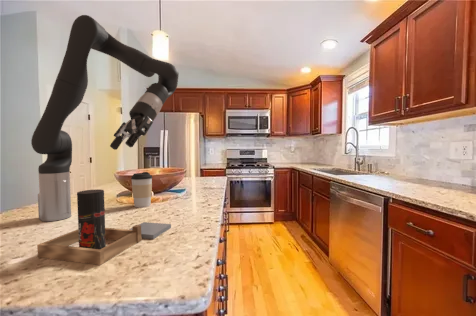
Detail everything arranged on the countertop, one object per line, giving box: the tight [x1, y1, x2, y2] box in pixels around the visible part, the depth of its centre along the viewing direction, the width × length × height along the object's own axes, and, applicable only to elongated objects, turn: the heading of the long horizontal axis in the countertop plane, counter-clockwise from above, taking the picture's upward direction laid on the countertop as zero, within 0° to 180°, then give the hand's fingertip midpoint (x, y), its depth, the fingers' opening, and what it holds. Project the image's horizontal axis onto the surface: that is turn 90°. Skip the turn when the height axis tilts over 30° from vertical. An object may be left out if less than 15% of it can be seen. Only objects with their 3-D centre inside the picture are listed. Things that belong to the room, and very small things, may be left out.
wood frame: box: [36, 224, 143, 266], centre depth 62 cm, size 19×14×4 cm
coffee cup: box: [130, 171, 153, 208], centre depth 108 cm, size 9×9×15 cm
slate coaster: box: [128, 221, 172, 240], centre depth 74 cm, size 10×10×1 cm
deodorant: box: [76, 189, 107, 249], centre depth 62 cm, size 6×6×15 cm
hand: (120, 146), depth 72 cm, fingers open, 8 cm apart
